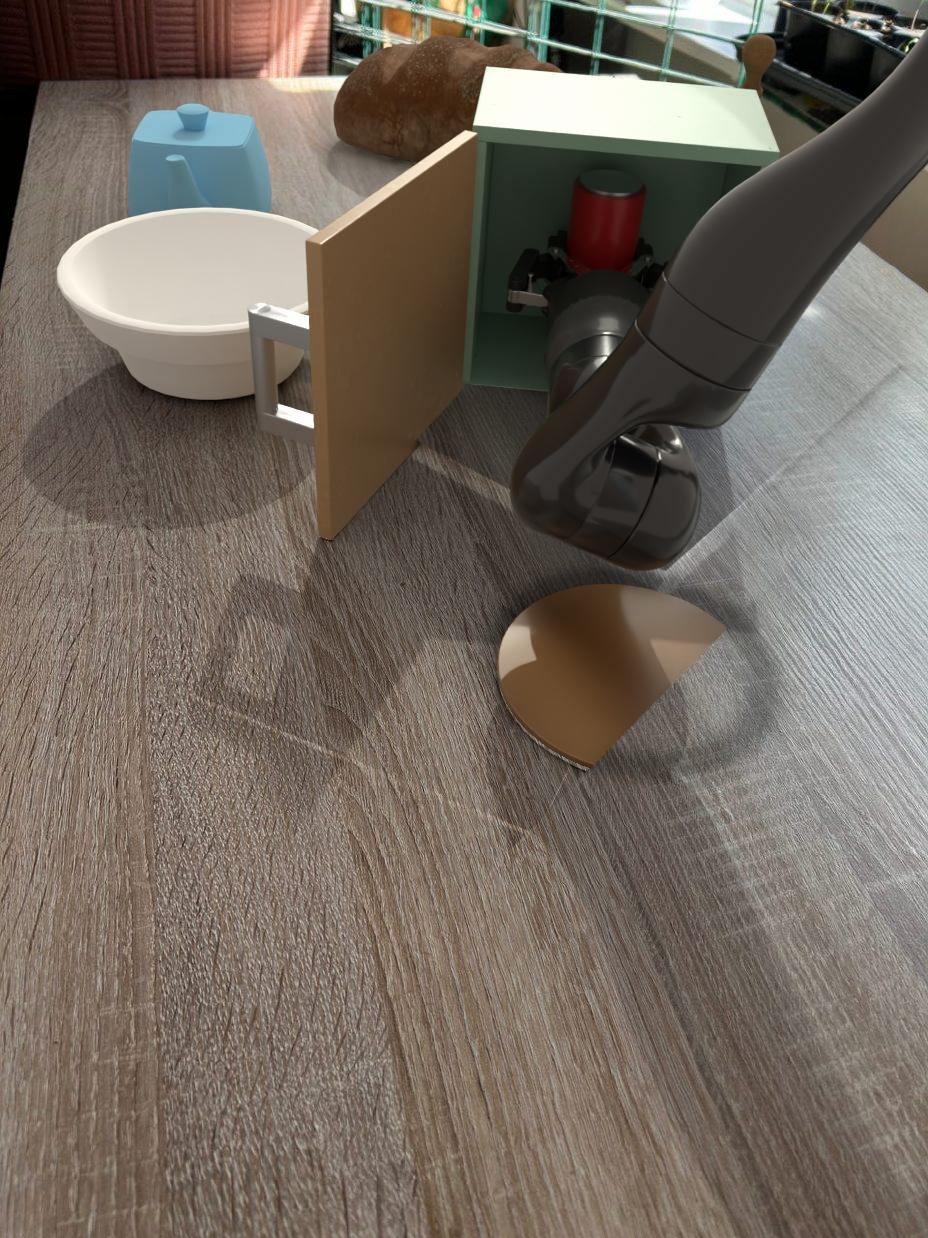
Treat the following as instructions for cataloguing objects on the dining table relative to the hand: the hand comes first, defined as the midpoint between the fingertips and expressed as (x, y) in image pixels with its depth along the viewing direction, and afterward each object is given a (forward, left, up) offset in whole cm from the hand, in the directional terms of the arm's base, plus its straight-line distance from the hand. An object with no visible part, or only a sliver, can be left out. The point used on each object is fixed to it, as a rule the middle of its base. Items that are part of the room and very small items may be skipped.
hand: (598, 245), depth 84 cm
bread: (-27, -36, -8) cm, 46 cm away
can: (+2, +1, -7) cm, 8 cm away
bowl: (+24, -19, -9) cm, 32 cm away
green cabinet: (+3, +2, -8) cm, 9 cm away
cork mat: (+31, +25, -8) cm, 40 cm away
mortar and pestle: (-30, -4, -9) cm, 32 cm away
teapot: (+10, -37, -9) cm, 39 cm away
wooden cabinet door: (+25, -2, -8) cm, 26 cm away
